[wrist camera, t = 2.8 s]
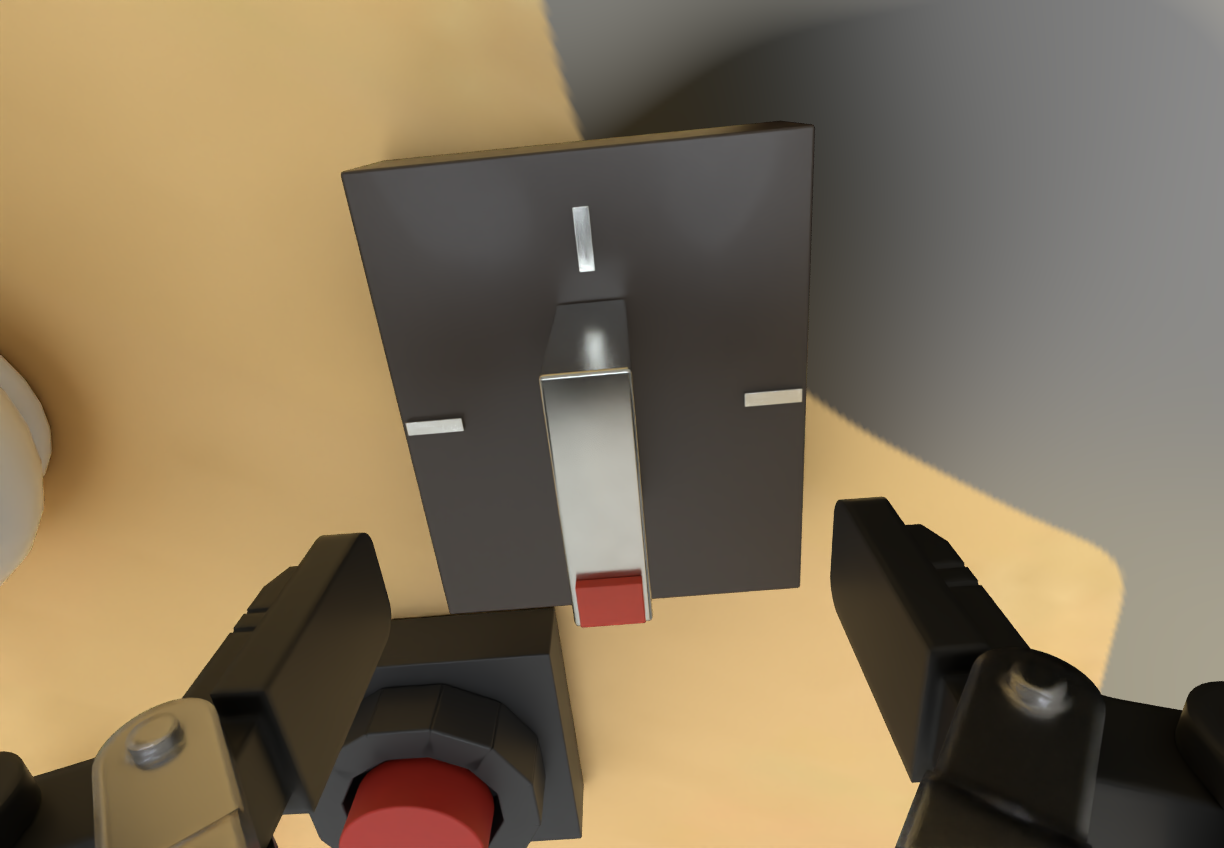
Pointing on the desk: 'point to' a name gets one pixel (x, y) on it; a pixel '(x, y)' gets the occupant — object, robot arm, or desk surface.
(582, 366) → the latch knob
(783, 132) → the rotary lever switch
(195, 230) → the desk surface
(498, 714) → the button box
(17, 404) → the flower vase
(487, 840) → the button
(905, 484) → the desk surface
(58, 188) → the desk surface
